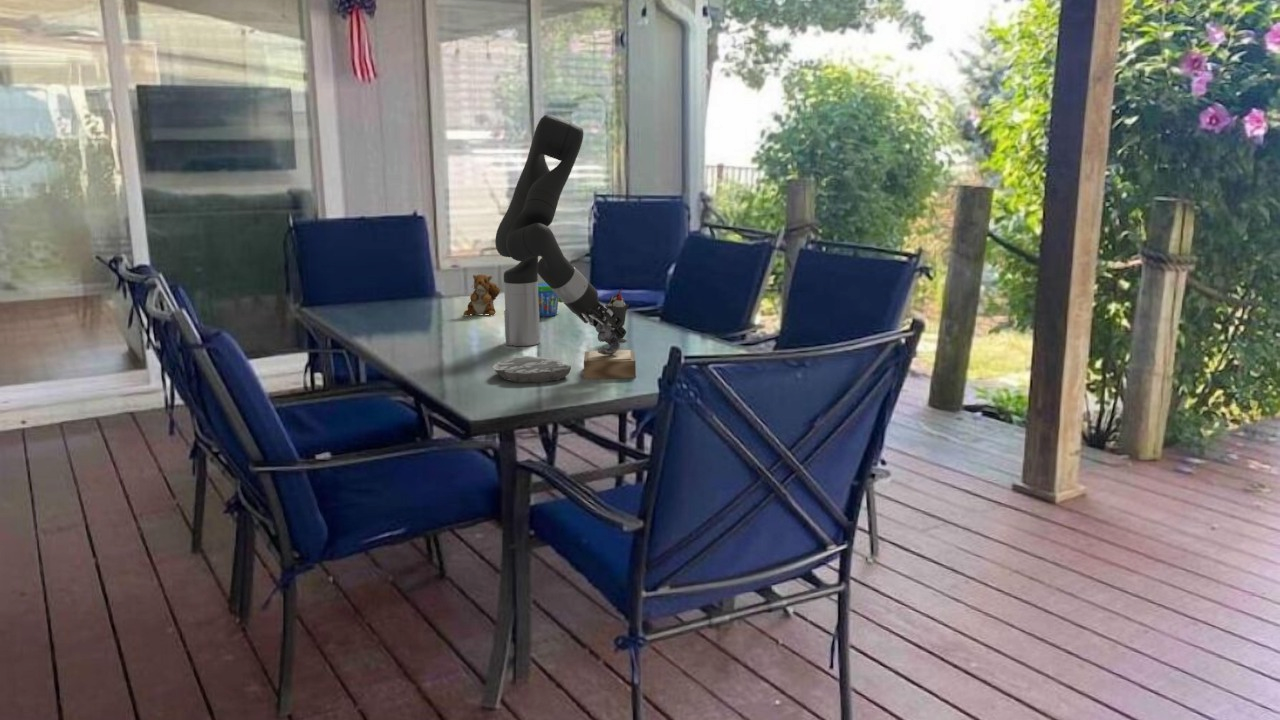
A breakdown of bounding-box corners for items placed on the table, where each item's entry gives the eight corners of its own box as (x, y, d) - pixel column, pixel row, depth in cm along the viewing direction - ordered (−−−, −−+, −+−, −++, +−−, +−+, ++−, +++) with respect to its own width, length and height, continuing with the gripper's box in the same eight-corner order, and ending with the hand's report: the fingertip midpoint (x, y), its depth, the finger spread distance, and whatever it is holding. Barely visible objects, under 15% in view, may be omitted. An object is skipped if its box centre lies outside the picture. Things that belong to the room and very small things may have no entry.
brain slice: (475, 377, 230) (475, 365, 229) (532, 365, 241) (531, 353, 241) (526, 390, 216) (526, 377, 215) (584, 377, 228) (583, 365, 227)
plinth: (584, 378, 225) (583, 360, 224) (585, 367, 237) (585, 350, 236) (635, 377, 225) (635, 359, 224) (634, 366, 237) (634, 349, 236)
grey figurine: (603, 357, 227) (601, 315, 225) (593, 354, 231) (592, 312, 229) (623, 355, 229) (622, 313, 227) (613, 351, 234) (612, 310, 232)
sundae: (627, 343, 265) (626, 289, 261) (603, 343, 266) (601, 289, 263) (632, 339, 271) (631, 286, 268) (608, 338, 272) (607, 285, 269)
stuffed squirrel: (462, 317, 313) (459, 276, 310) (475, 309, 326) (473, 271, 323) (492, 317, 311) (490, 276, 308) (504, 310, 325) (502, 271, 322)
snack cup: (553, 310, 322) (552, 280, 319) (574, 314, 314) (573, 283, 312) (516, 316, 311) (514, 285, 309) (536, 320, 304) (535, 288, 301)
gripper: (602, 279, 216) (642, 325, 226) (563, 274, 226) (603, 317, 237) (584, 305, 214) (626, 350, 224) (545, 299, 224) (587, 342, 234)
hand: (614, 333), depth 230 cm, fingers open, 6 cm apart
